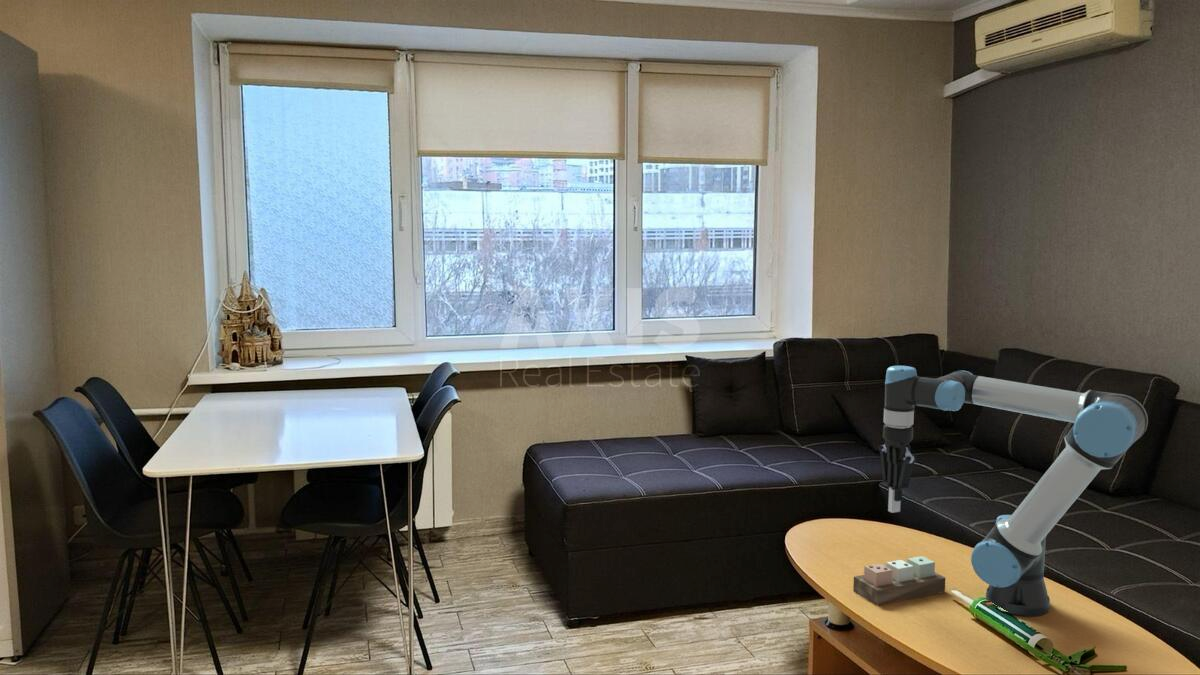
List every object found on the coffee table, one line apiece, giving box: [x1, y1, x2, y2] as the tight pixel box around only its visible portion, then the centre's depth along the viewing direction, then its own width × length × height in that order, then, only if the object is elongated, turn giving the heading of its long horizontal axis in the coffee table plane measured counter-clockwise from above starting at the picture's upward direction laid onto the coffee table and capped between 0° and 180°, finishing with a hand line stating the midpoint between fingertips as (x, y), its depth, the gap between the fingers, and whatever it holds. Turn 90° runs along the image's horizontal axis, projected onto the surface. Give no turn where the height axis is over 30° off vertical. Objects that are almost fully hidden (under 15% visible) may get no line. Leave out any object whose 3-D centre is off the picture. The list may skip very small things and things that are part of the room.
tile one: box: [906, 555, 936, 578], centre depth 246 cm, size 5×5×5 cm
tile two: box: [885, 559, 914, 582], centre depth 244 cm, size 5×5×5 cm
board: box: [852, 571, 946, 606], centre depth 244 cm, size 10×22×4 cm, turn 111°
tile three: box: [863, 563, 892, 586], centre depth 241 cm, size 5×5×5 cm
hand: (894, 511), depth 242 cm, fingers closed
